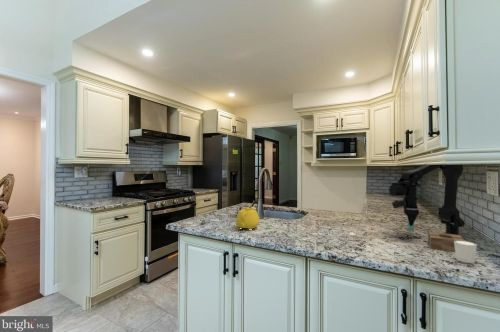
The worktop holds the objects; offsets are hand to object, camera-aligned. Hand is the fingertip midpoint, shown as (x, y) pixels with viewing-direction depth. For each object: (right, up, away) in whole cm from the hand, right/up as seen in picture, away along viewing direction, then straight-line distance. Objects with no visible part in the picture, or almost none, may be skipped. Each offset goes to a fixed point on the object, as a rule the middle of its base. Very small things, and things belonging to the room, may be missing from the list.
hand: (410, 225), depth 126 cm
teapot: (-85, -8, +23) cm, 89 cm away
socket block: (+6, -7, -14) cm, 17 cm away
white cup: (+1, -7, -30) cm, 31 cm away
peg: (0, -3, 0) cm, 3 cm away
